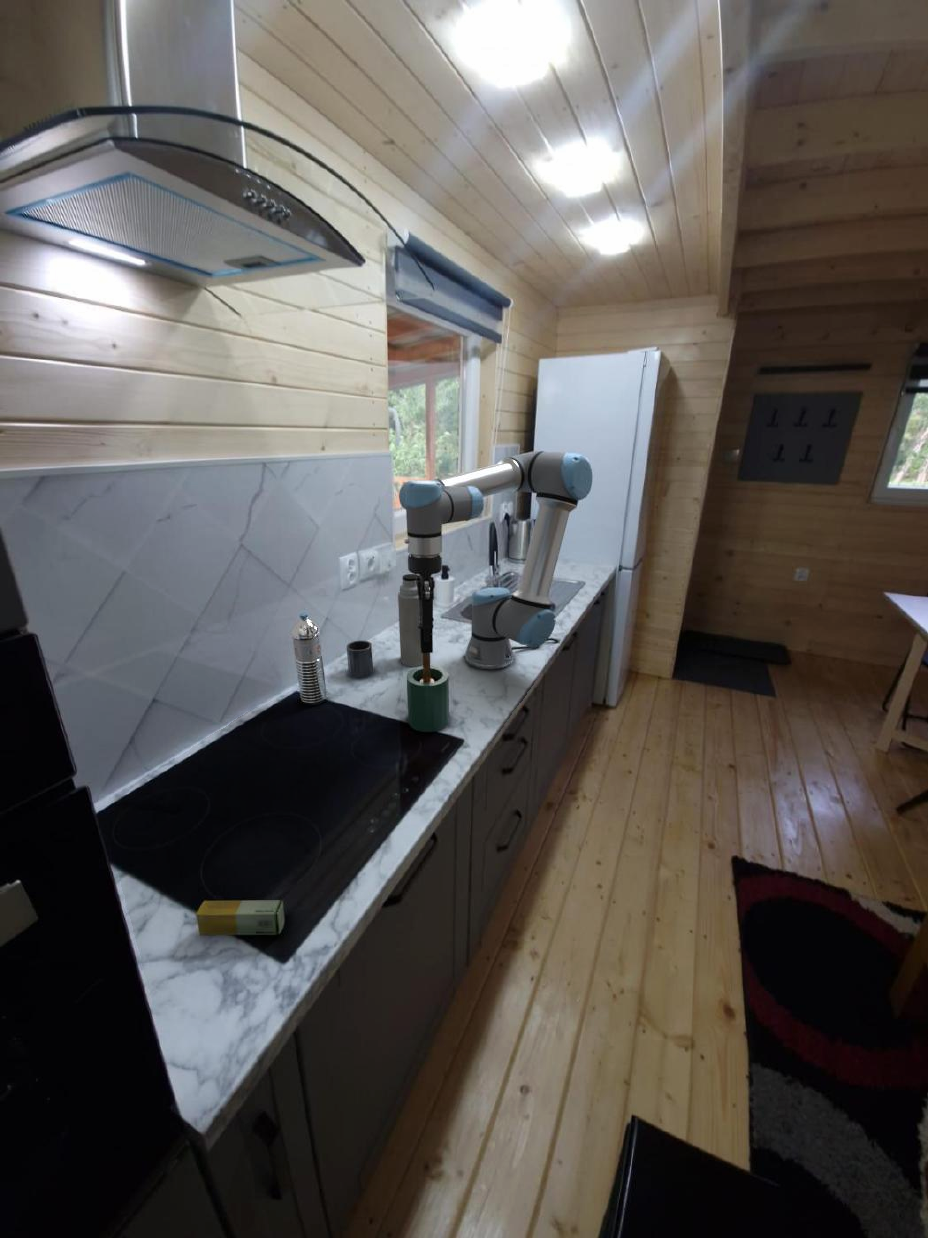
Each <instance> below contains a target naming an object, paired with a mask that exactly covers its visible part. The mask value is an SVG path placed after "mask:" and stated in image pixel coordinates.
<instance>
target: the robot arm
mask: <svg viewBox="0 0 928 1238" xmlns="http://www.w3.org/2000/svg"><path fill="white" fill-rule="evenodd" d="M592 485H593V469H592V466H591V463H590V461H589V459H588V458H587V457H586V456H584V455H583V454H580V453H574V452H570V451H568V452H563V451H562V452H561V451H544V450H535V451H529V452H525V453H520V454H516V455H512V456H509V457H505V458H502V459H500V460H499V461H498V463H495V464H492V465H486V466H484V467H479V468H475V469H470V470H467V471H463V472H458V473H454V474H449V475H445V476H441V477H438V478H437V477H436V478H434V479H429V480H407V481H406V482H404V483H403V484H402V485H401V487H400V489H399V491H398V500H399V503H400V504H399V505H401V507H402V508H403V509H404V510H405V517H406V534H407V538H406V539H404V544H406V545H407V553H408V555H407V569H408V572H410V574H416V575H418V577H417V578H416V584H417V592H418V598H419V611H420V612H419V616H420V622H421V623H420V625H419V626H418V629H420V646H421V653H430V654H433V653H434V643H433V642H434V640H433V639H434V636H433V634H434V632H433V629H434V621H435V618H434V599H435V586H436V583H435V580H434V576H432V575H434V574H435V575H436V574H439V573H440V572H441V571H442V569H443V556H442V554H441V553H442V552H443V534H442V533H443V532H442V531H443V525H446V524H454V523H459V522H468V521H472V520H474V519H477V518H478V517H480V516H481V514H482V513H483V511H484V506H485V503H484V501H485V500H484V498H485V497H488V496H492V495H496V494H499V493H503V492H504V493H507V494H513V493H517V492H521V493H531V494H536V495H535V500H536V502H537V504H538V509H537V514H536V517H535V522H534V526H533V529H532V534H531V538H530V541H529V545H528V549H527V553H526V558H525V562H524V565H523V570H522V574H521V578H520V582H519V587H518V589H517V590H515V591H513V592H512V593H511V590H510V589H508V588H506V587H498V586H497V587H485V588H482V589H478V590H476V591H475V592H473V594H472V597H471V605H470V606H471V611H470V612H471V613H470V614H471V635H470V638H469V641H468V644H467V647H466V649H465V656H464V657H465V658H464V659H465V661H466V663H467V664H469V665H470V666H472V667H474V668H477V669H482V670H499V669H504V668H506V667H509V666H510V665H511V664H512V663H513V662H514V651H516V650H527V649H538V648H540V646H542V645H544V644H545V642H548V641H553V642H555V643H560V640H558V639H556V638H554V637H551V635H552V633H553V631H554V629H555V626H556V614H555V613H554V612H553V611H552V610H551V608H552V604H553V603H552V601H551V599H550V598H549V594H550V590H551V588H552V587H551V586H552V583H553V579H554V574H555V572H556V571H555V570H556V567H557V562H558V559H559V555H560V553H561V548H562V543H563V540H564V536H565V532H566V528H567V524H568V520H569V517H570V514H571V512H573V511H574V510H576V509H577V507H578V504H579V501H582V500H584V499H586V498H587V497H588V495H589V493H590V492H591V489H592ZM510 640H511V641H513V642H515V643H518V644H519V645H521V646H513V647H512V644H511V641H510Z"/></svg>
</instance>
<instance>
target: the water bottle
mask: <svg viewBox="0 0 928 1238" xmlns="http://www.w3.org/2000/svg"><path fill="white" fill-rule="evenodd" d="M308 615H309V614H308V613H306V612H304V613H300V614H299V620H298V621H297V622H296V623H295V624H294V626H293V627H292V629H291V637H292V643H293V651H294V657H295V659H294V660H295V667H296V675H297V682H298V689H299V690H298V691H299V697H300V702H301V703H302V704H303V705H306V706H309V707H311V706H313V707H314V706H318V705H320V704H322V703H324V702H325V701H326V700H327V694H328V693H327V685H326V677H325V668H324V659H323V658H324V657H323V653H322V646H321V645H322V644H321V637H320V633H321V632H320V627H319V626H318V624H316V623H315V622H314V621H313V620H311V619H309V617H308Z"/></svg>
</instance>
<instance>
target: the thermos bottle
mask: <svg viewBox="0 0 928 1238" xmlns="http://www.w3.org/2000/svg"><path fill="white" fill-rule="evenodd" d="M418 575H419V574H413V573H407V574H403V575H402V584H401V585H400V586H399V592H398V593H397V603H398V628H399V629H398V631H399V651H400V663H401V664H403V665H404V666H407V667H419V666H423V653H421V646H420V629H418V626H419V625H420V623H421V622H420V616H419V612H420V611H419V598H418V592H417V584H416V578H417V577H418Z"/></svg>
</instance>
